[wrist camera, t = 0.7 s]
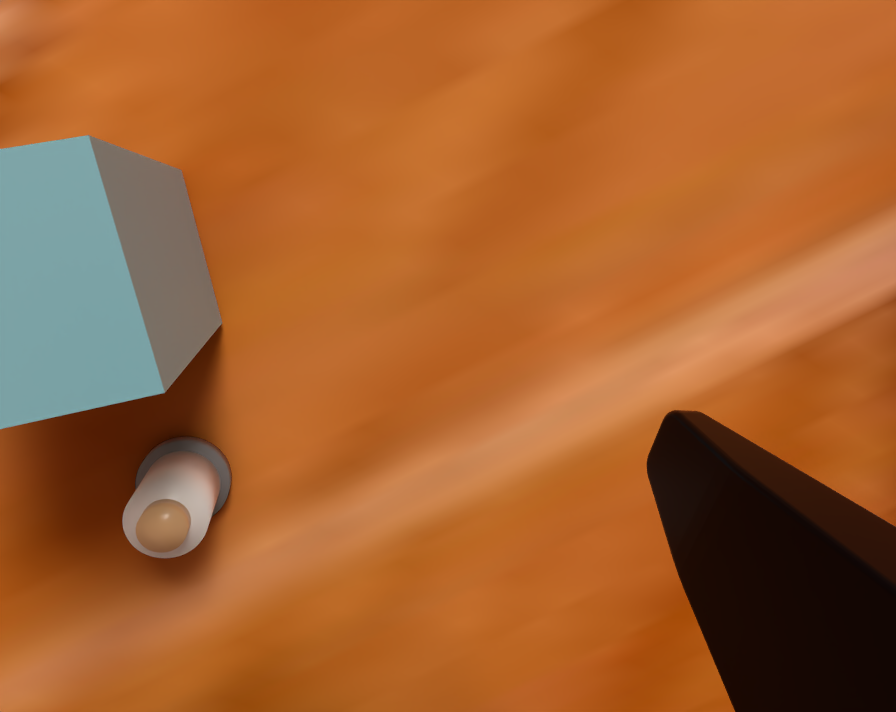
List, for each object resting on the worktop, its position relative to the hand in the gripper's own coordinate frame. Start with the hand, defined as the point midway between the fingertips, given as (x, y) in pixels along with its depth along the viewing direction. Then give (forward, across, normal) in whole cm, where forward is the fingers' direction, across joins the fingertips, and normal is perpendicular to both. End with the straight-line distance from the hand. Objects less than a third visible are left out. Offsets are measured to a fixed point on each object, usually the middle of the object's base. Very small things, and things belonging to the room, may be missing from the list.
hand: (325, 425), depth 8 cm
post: (+12, +4, +12) cm, 17 cm away
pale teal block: (+14, +6, +5) cm, 16 cm away
